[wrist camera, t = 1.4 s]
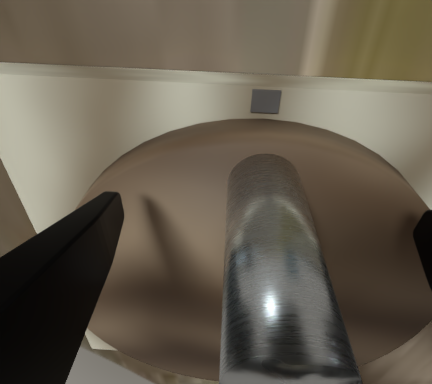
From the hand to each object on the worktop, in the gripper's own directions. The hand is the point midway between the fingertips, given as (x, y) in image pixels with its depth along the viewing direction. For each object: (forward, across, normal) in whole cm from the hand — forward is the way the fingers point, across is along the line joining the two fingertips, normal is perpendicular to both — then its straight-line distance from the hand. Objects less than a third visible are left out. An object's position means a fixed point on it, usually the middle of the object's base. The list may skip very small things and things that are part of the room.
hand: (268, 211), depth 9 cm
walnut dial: (+3, 0, +7) cm, 8 cm away
